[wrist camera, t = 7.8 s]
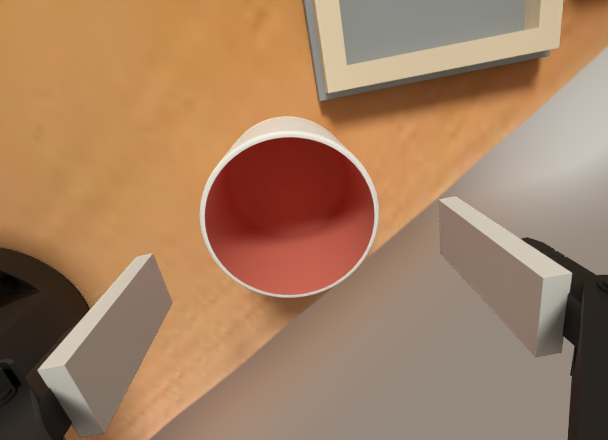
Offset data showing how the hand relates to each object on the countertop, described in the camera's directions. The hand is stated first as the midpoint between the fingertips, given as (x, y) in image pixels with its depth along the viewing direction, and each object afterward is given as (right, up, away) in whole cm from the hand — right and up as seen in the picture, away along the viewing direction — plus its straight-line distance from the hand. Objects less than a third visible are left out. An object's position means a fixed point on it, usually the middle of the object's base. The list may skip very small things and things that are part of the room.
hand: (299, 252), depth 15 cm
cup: (-1, +5, +13) cm, 14 cm away
